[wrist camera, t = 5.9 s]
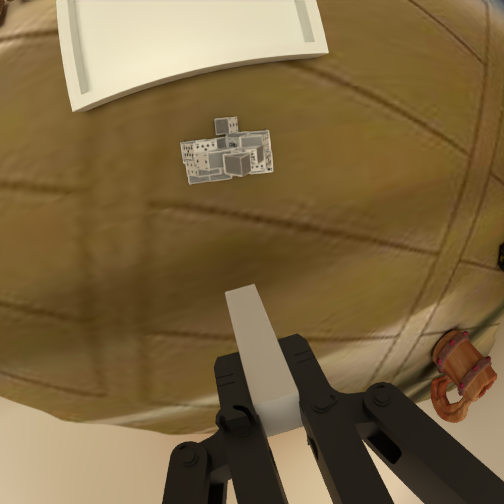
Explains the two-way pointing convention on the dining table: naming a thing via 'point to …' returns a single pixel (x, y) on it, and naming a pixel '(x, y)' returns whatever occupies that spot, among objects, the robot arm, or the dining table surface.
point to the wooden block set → (0, 5)
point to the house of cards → (227, 153)
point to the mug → (459, 375)
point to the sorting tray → (176, 41)
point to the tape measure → (502, 259)
